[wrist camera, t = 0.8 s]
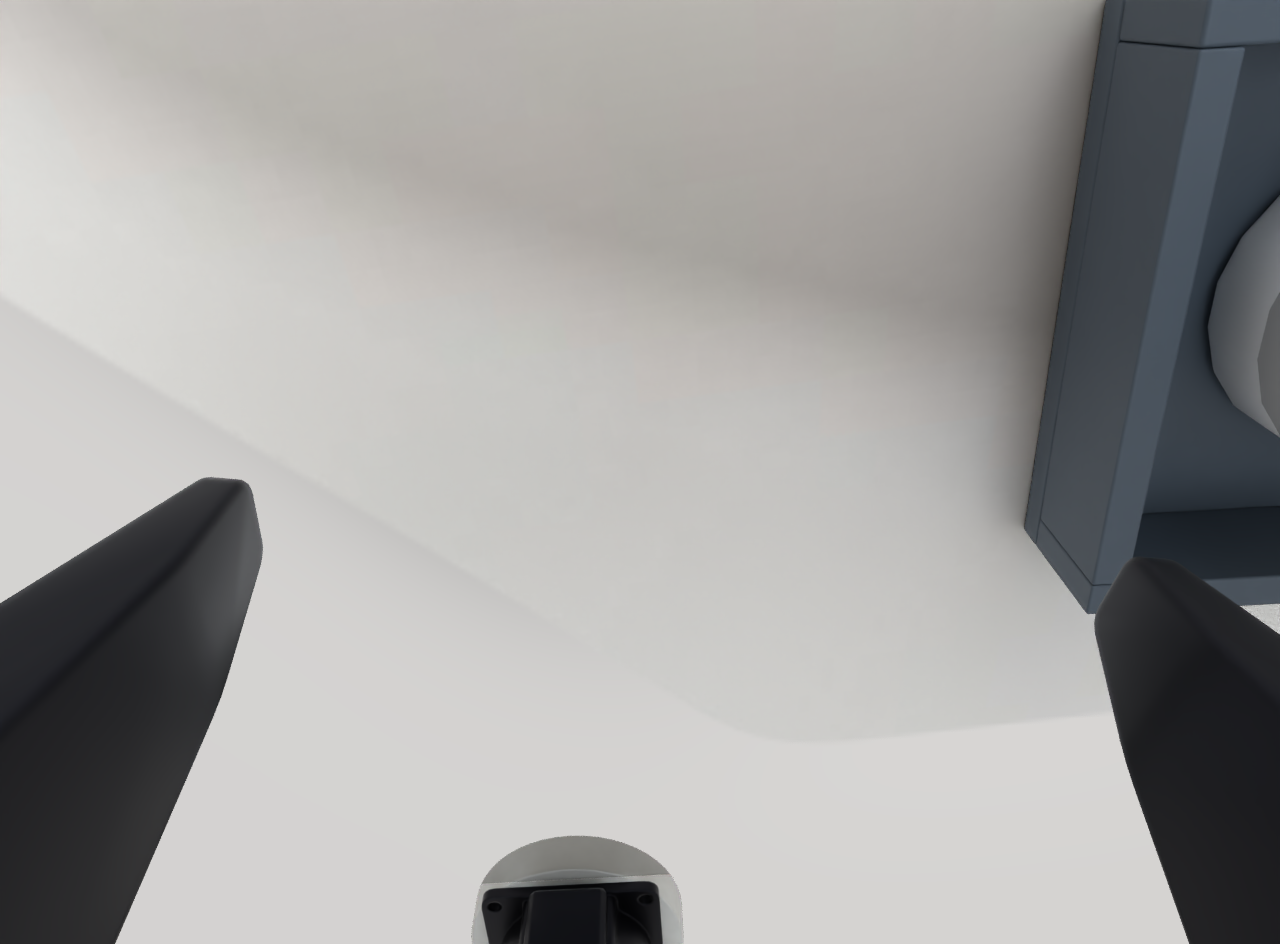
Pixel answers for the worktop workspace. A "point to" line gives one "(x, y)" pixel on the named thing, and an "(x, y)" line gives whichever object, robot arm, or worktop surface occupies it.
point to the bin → (1162, 308)
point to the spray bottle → (1250, 323)
